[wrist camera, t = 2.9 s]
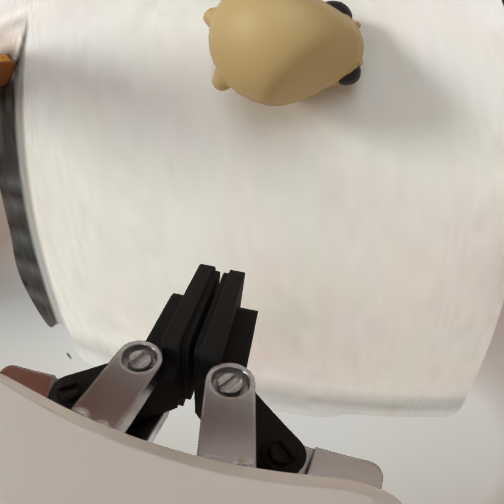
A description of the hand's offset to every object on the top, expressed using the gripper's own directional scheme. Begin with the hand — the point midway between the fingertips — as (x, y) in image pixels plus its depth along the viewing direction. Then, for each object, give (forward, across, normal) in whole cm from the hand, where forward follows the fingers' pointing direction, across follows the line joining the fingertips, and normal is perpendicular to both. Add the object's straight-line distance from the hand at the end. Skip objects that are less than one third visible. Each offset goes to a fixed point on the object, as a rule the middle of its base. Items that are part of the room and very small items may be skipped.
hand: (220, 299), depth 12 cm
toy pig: (+19, 0, -12) cm, 22 cm away
